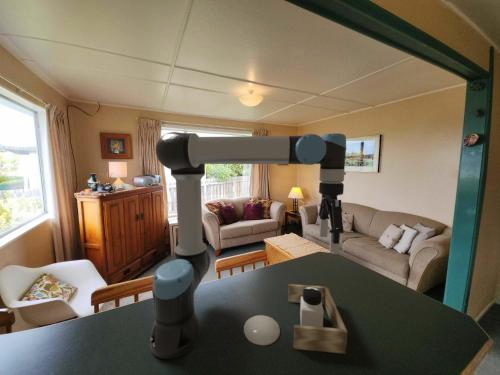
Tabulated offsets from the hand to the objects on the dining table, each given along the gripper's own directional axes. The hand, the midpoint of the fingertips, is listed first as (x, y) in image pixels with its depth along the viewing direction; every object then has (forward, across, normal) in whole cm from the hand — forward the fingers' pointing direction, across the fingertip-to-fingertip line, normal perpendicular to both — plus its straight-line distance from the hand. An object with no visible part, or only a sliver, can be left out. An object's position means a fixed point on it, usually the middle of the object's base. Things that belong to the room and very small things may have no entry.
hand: (328, 243), depth 70 cm
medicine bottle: (+28, -2, +5) cm, 29 cm away
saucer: (+28, -7, +22) cm, 36 cm away
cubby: (+28, -2, +5) cm, 29 cm away
